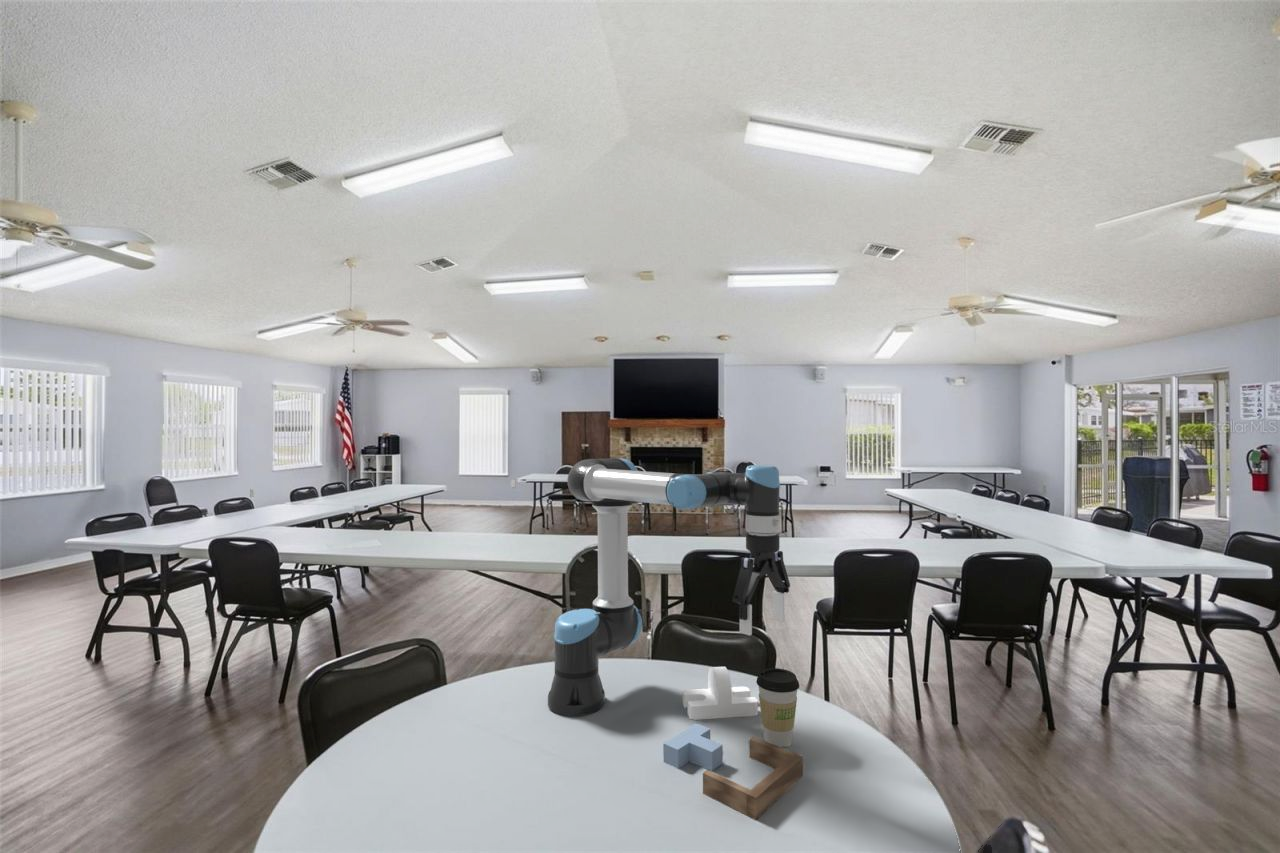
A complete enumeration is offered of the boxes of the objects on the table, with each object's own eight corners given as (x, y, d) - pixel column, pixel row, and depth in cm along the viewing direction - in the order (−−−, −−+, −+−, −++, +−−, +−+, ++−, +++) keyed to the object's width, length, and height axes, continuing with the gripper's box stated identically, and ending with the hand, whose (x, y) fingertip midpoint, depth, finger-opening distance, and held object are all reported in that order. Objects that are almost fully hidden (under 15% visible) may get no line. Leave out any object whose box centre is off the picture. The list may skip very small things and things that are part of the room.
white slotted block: (681, 703, 154) (681, 663, 155) (746, 699, 157) (746, 659, 157) (690, 721, 145) (690, 677, 145) (759, 716, 147) (759, 673, 148)
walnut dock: (702, 793, 115) (702, 772, 115) (752, 754, 129) (752, 736, 129) (755, 820, 107) (755, 797, 107) (803, 775, 121) (803, 756, 121)
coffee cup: (801, 753, 129) (800, 685, 130) (756, 748, 131) (756, 682, 132) (798, 731, 139) (798, 668, 139) (756, 727, 141) (756, 665, 141)
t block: (663, 762, 126) (663, 743, 126) (696, 740, 135) (696, 723, 135) (700, 779, 119) (700, 759, 119) (732, 755, 128) (732, 737, 128)
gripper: (745, 541, 121) (745, 644, 120) (804, 529, 138) (804, 618, 138) (716, 537, 126) (716, 635, 125) (777, 525, 144) (777, 611, 143)
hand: (762, 626), depth 132 cm, fingers open, 13 cm apart
